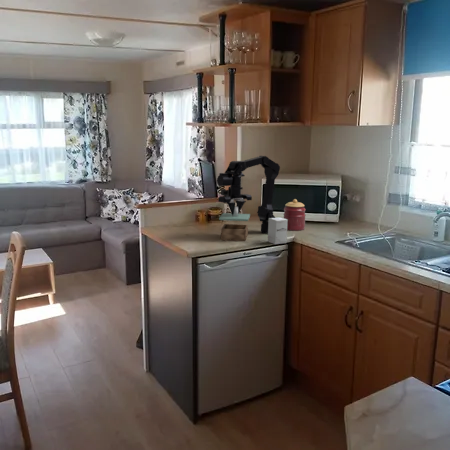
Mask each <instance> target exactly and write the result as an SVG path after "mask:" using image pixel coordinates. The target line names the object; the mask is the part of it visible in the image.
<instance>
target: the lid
mask: <svg viewBox="0 0 450 450" xmlns="http://www.w3.org/2000/svg"><path fill="white" fill-rule="evenodd" d="M250 217H251V213H239V214H238V207H237V205H235V209H234V214H233V215H232V214H231V212H230V213H229V212H223V213H222V214H221V215H220V216H219V217H218V218H219V219H218V220H219V221H232V222H234V221H235V222H249V220H250Z"/></svg>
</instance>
